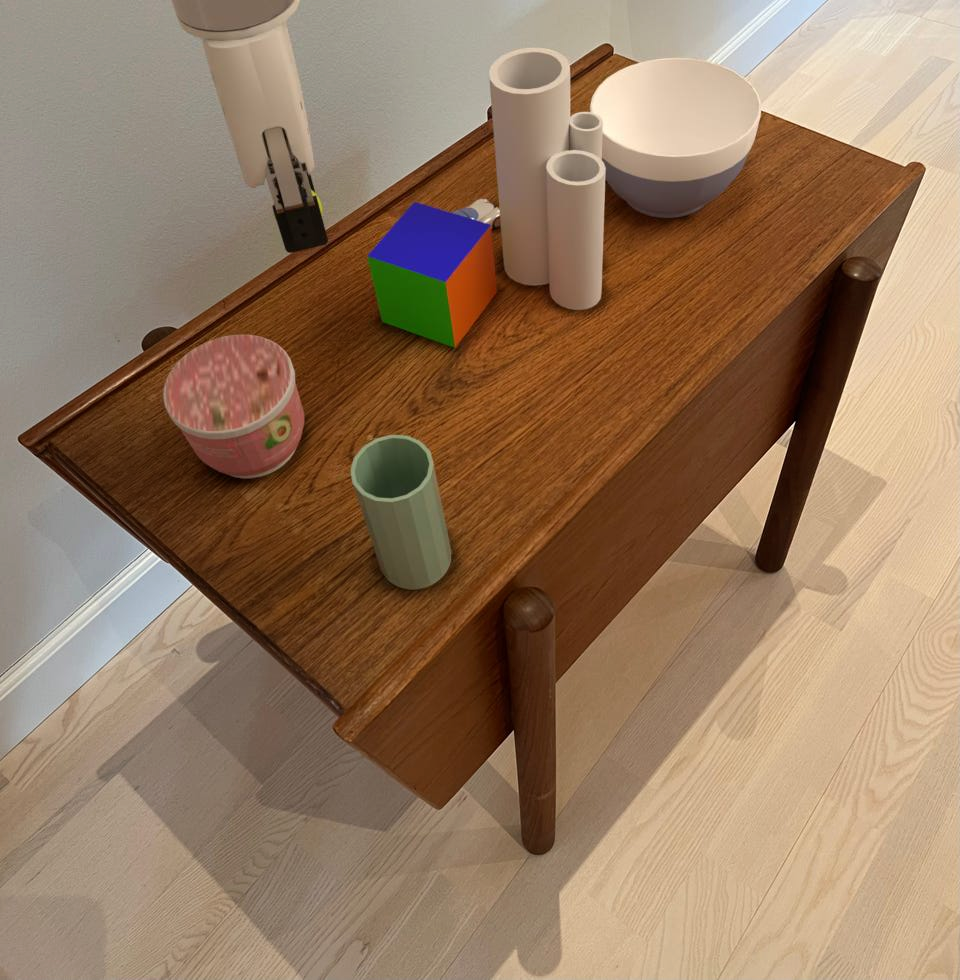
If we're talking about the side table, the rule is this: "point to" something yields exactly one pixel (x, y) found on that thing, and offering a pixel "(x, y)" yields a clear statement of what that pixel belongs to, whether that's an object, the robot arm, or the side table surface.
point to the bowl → (675, 132)
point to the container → (237, 404)
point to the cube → (434, 273)
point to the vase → (548, 178)
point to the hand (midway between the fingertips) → (302, 226)
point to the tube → (402, 510)
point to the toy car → (482, 212)
